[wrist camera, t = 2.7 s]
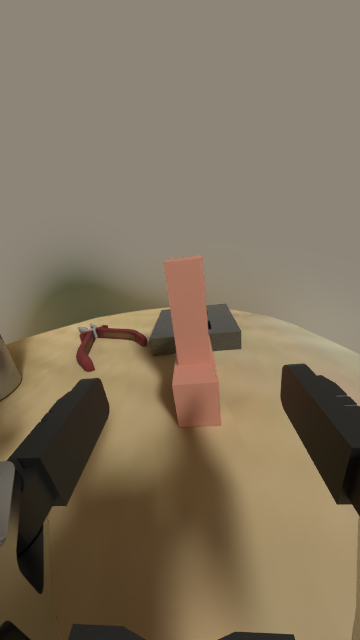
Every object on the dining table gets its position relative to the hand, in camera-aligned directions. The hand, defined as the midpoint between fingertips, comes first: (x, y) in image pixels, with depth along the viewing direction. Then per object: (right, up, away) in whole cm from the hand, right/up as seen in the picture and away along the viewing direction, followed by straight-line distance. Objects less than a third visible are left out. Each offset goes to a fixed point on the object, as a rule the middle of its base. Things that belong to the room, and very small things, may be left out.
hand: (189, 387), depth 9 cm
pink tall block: (+2, -5, +14) cm, 15 cm away
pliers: (-15, -2, +31) cm, 35 cm away
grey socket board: (+3, +1, +29) cm, 29 cm away
